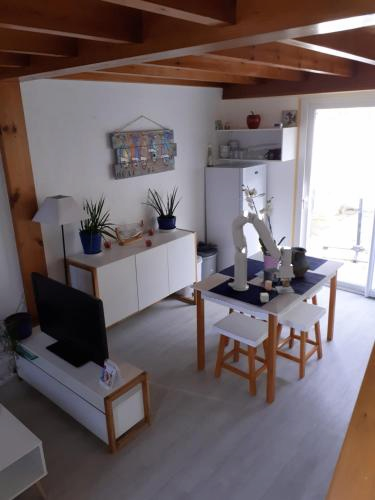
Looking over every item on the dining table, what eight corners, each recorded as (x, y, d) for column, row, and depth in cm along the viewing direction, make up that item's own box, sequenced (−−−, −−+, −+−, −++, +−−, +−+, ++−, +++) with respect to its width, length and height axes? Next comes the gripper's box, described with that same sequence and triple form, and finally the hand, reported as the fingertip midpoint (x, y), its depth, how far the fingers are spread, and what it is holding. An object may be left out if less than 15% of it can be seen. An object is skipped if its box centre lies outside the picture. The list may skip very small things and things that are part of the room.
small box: (266, 284, 327) (267, 271, 323) (263, 281, 333) (263, 268, 329) (278, 282, 329) (279, 270, 326) (274, 279, 335) (275, 267, 332)
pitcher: (313, 274, 342) (315, 246, 334) (303, 283, 326) (304, 253, 318) (289, 269, 354) (291, 242, 346) (279, 277, 337) (280, 249, 329)
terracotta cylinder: (265, 290, 315) (265, 283, 313) (264, 287, 320) (264, 280, 318) (272, 290, 315) (272, 282, 313) (270, 287, 320) (271, 280, 318)
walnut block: (282, 287, 311) (282, 281, 310) (281, 284, 316) (281, 278, 314) (289, 287, 311) (289, 281, 310) (287, 284, 316) (287, 278, 315)
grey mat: (278, 293, 309) (278, 292, 309) (275, 287, 320) (275, 286, 320) (294, 292, 309) (294, 292, 309) (290, 286, 321) (290, 285, 320)
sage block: (261, 302, 296) (261, 296, 295) (260, 299, 301) (260, 293, 299) (268, 302, 296) (268, 295, 295) (267, 299, 301) (267, 292, 299)
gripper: (275, 265, 304) (275, 287, 310) (298, 264, 304) (297, 286, 310) (273, 261, 311) (272, 283, 317) (295, 260, 311) (294, 282, 317)
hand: (285, 285), depth 314 cm, fingers closed on walnut block, 4 cm apart
